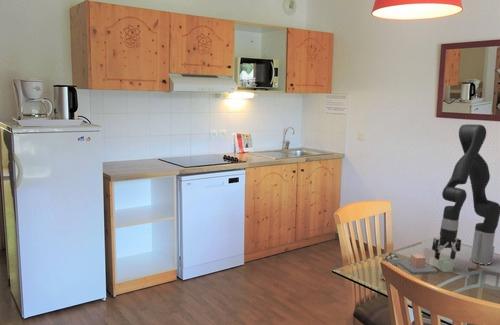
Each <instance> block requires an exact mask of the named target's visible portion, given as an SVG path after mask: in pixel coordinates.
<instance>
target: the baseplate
mask: <svg viewBox="0 0 500 325" xmlns="http://www.w3.org/2000/svg"><path fill="white" fill-rule="evenodd" d="M399 261H400V262H399V263H398V265H399V266H401V267H402V268H403V269H404V270H406V271H407V272H409V273H410V274H412V275H420V274H421V275H422V274H438V273H439V269H436V268H435V267H433V266H432V265H430V264H428V263H426V262H425V268H415V267H413V266H412V265H410V259H409V260H407V259H406V260H399Z"/></svg>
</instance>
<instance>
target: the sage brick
mask: <svg viewBox="0 0 500 325" xmlns="http://www.w3.org/2000/svg"><path fill="white" fill-rule="evenodd" d="M436 266H437V267H436V268H437V270H438V271H439V270H440V271H441V272H442V273H452V272H453V268H454V261H452V259H450V258H447V257H446V258H439V260H437V265H436Z"/></svg>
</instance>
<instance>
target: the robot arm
mask: <svg viewBox="0 0 500 325" xmlns="http://www.w3.org/2000/svg"><path fill="white" fill-rule="evenodd" d="M486 137H487V129H486V127H485V125H483V124H473V123H472V124H471V123H470V124H467V123H466V124H462V125H461V126H460V127H459V129H458V138H459V142H460V144H461V148H462V151H463V153H464V154H463V155H462V156H461V157H460V159H459V160H458V161H457V162H456V164H455V166H454V168H453V171H452V175H451V177H450V179H449V180H448V182H447V184H446V185H445V186H444V188H443V189H442V194H441V196H442V198H443V199H444V200H445V201H448V202H452V203H454V205H446V206H445V207H444V208H443V214H442V220H441V223H440V224H441V225H440V229H439V230H440V232H439V236H440V237H439V238H435V237H434V238H433V242H432V245H431V246H432V247H431V250H432V251H434V258H435V260H437V261H438V260H439V259H440V256H441V252H442V251H443V250H444V249H450V250H451V252H450V257H449V259H450V260H451V261H452V260H455V259H456V254H457V252H460V251H461V248H462V247H461V246H462V239H460V238H457V236H458V229H459V222H460V221H459V219H460V213H461V210H462V207H463V205H464V203H465V201H466V200H467V196H468V195H467V192H466V190H465V189H463V188H460V187H457V186H458V185H465V184H467V183H468V179H469V180H470V184H471V187H470V188H471V191H472V201H473V208H474V212H475V214H476V215H478V216H480V217H481V218H484V219H483V222H478V223H476V224H475V228H474V233H473V242H472V248H471V256H470V261H471V260H472V261H474V262H478V263H482V264H488V263H490V262H492V263H493V258H494V253H495V245H494V241H495V237H496V236H495V234H496V230H497V228H498V224H499V221H500V204H499V203H498V202H495V201H492V200H489V199H488V198H487V195H486V188H487V185H488V184H489V181H490V178H491V177H490V176H491V174H490V169H489V166H488V163H487V161H486V160H485V159H484V158H483V156H481V154H480V153H479V152H480V151H481V148H482V146H483V144H484V142H485V140H486ZM472 261H471V262H472ZM474 262H473V263H474Z"/></svg>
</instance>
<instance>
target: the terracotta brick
mask: <svg viewBox="0 0 500 325" xmlns="http://www.w3.org/2000/svg"><path fill="white" fill-rule="evenodd" d="M409 257H410V259H409V260H410V265H412V266H413V267H415V268H425V263H426V257H425V256H423V255H422V254H419V253H415V254H410V256H409Z"/></svg>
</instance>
